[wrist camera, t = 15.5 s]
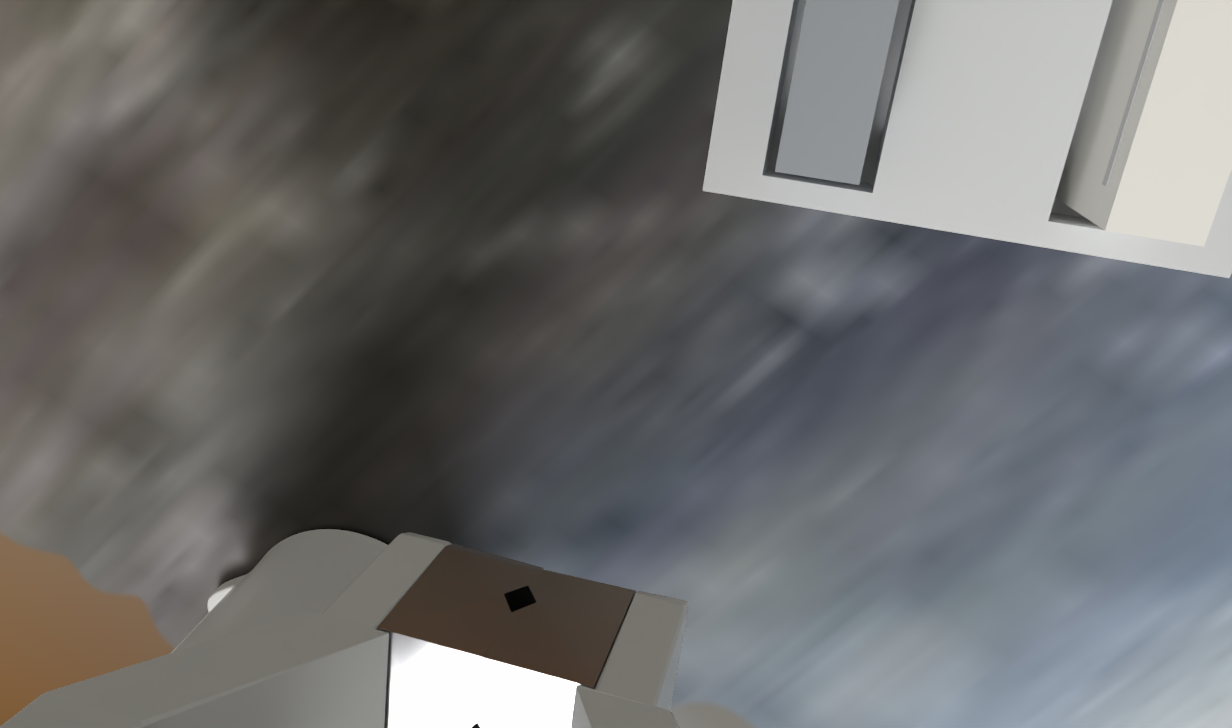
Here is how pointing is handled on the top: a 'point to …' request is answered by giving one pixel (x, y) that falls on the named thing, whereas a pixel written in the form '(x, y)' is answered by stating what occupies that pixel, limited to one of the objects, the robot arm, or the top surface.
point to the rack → (924, 119)
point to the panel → (1155, 122)
